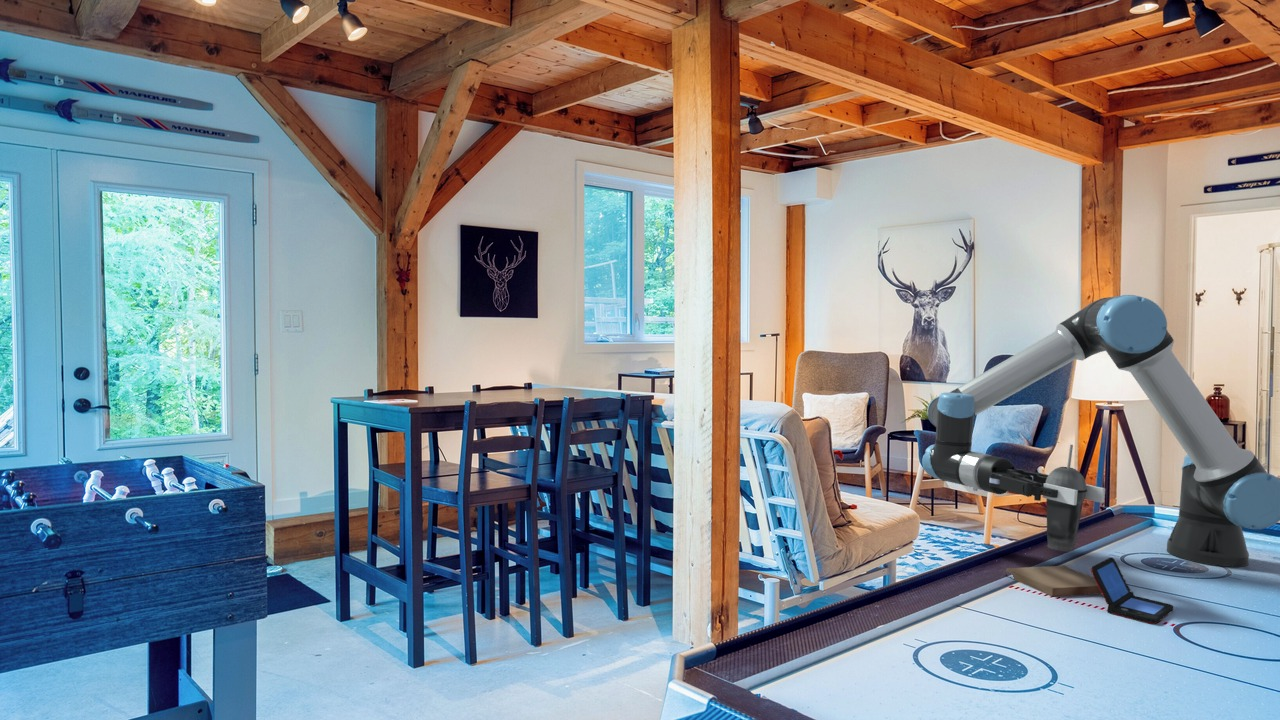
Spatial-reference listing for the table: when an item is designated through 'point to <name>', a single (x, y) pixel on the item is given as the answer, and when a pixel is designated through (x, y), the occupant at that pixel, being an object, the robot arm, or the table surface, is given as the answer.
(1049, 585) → the walnut board
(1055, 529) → the beverage cup
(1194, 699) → the table surface
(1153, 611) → the handheld game console
